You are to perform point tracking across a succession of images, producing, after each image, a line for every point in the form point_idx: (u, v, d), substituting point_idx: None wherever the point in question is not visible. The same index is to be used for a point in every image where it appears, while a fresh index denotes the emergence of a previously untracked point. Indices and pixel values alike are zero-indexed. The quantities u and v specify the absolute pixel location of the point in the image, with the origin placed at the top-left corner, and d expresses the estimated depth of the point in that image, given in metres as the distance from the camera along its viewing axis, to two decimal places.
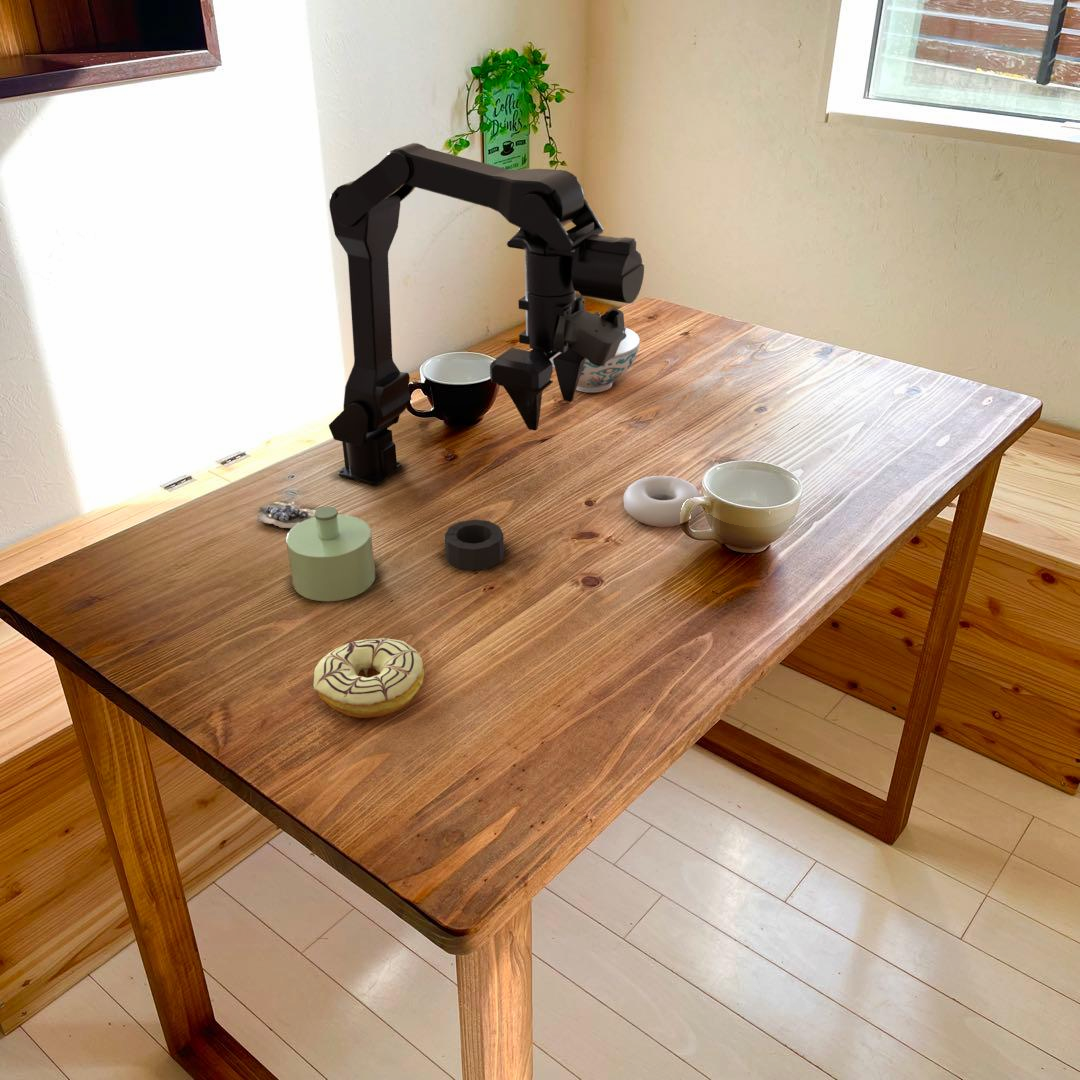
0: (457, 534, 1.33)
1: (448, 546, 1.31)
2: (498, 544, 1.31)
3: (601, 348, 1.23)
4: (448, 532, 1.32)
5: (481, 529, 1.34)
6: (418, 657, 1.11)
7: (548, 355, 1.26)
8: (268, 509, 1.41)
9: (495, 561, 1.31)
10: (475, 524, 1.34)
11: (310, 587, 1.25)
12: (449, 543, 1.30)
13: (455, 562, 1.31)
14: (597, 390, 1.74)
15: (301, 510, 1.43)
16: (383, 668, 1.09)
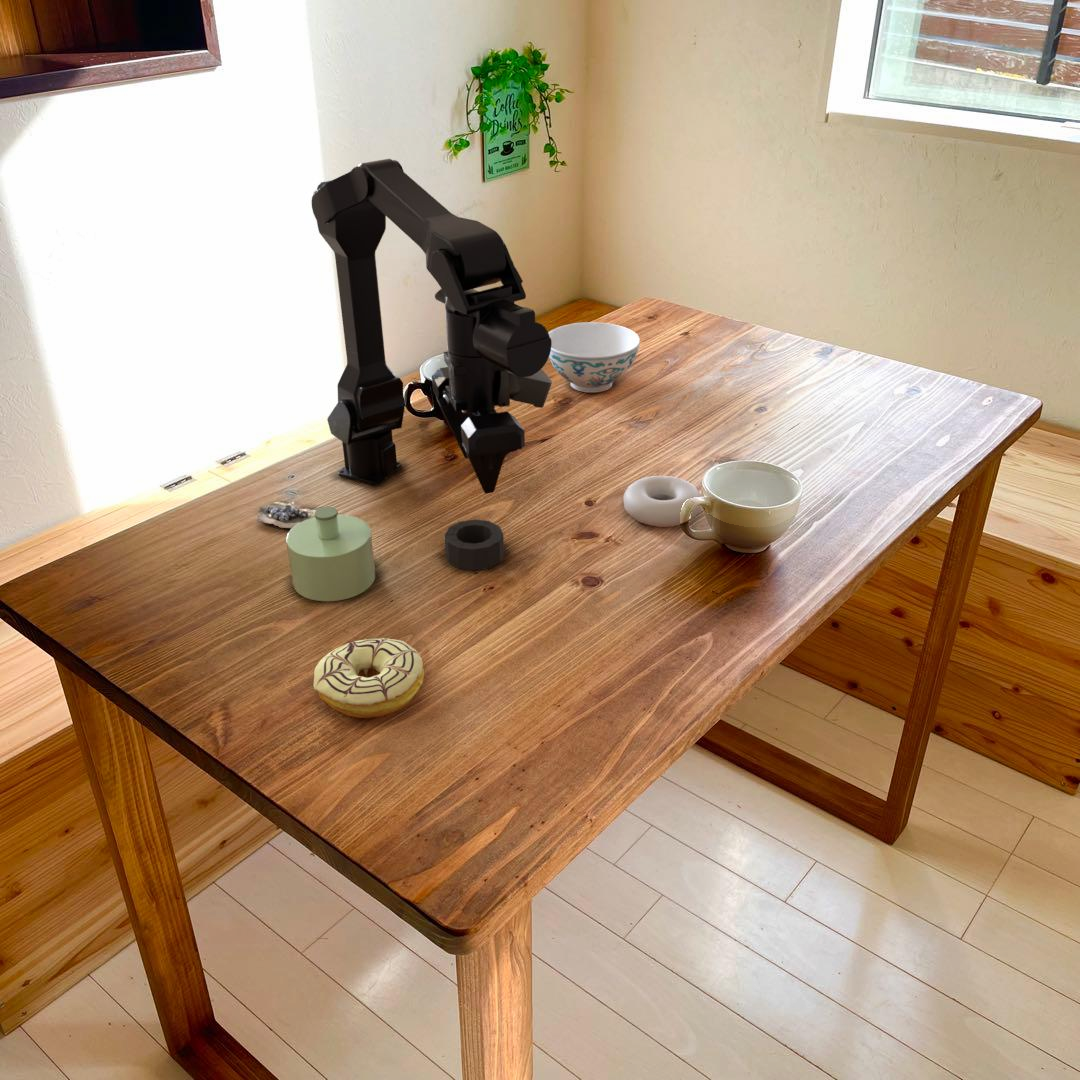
0: (457, 534, 1.33)
1: (448, 546, 1.31)
2: (498, 544, 1.31)
3: (546, 389, 1.23)
4: (448, 532, 1.32)
5: (481, 529, 1.34)
6: (418, 657, 1.11)
7: (492, 413, 1.22)
8: (268, 509, 1.41)
9: (495, 561, 1.31)
10: (475, 524, 1.34)
11: (310, 587, 1.25)
12: (449, 543, 1.30)
13: (455, 562, 1.31)
14: (597, 390, 1.74)
15: (301, 510, 1.43)
16: (383, 668, 1.09)
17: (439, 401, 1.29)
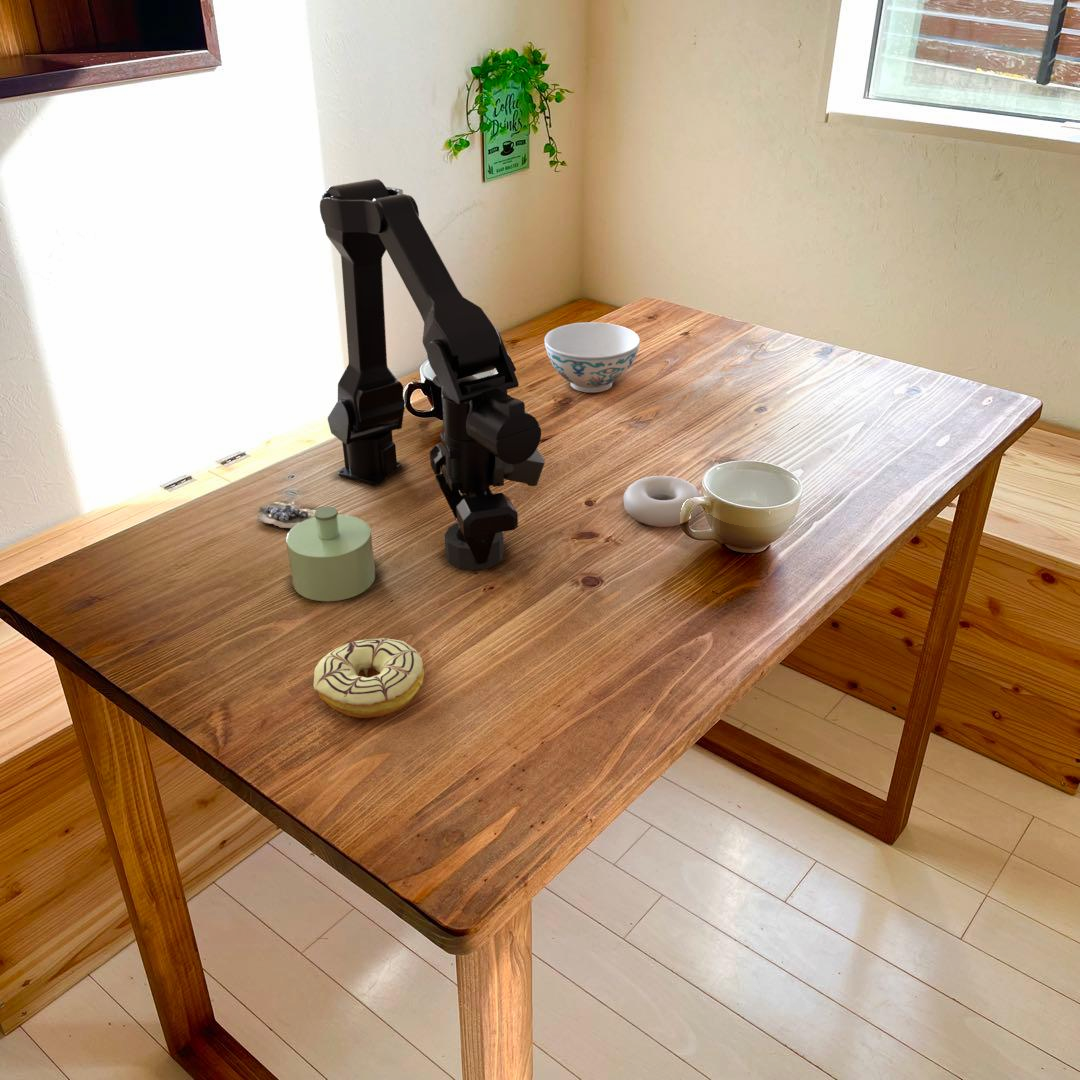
0: (457, 534, 1.33)
1: (448, 546, 1.31)
2: (498, 544, 1.31)
3: (539, 469, 1.27)
4: (448, 532, 1.32)
5: None
6: (418, 657, 1.11)
7: (486, 493, 1.26)
8: (268, 509, 1.41)
9: (495, 561, 1.31)
10: None
11: (310, 587, 1.25)
12: (449, 543, 1.30)
13: (455, 562, 1.31)
14: (597, 390, 1.74)
15: (301, 510, 1.43)
16: (383, 668, 1.09)
17: (438, 480, 1.33)
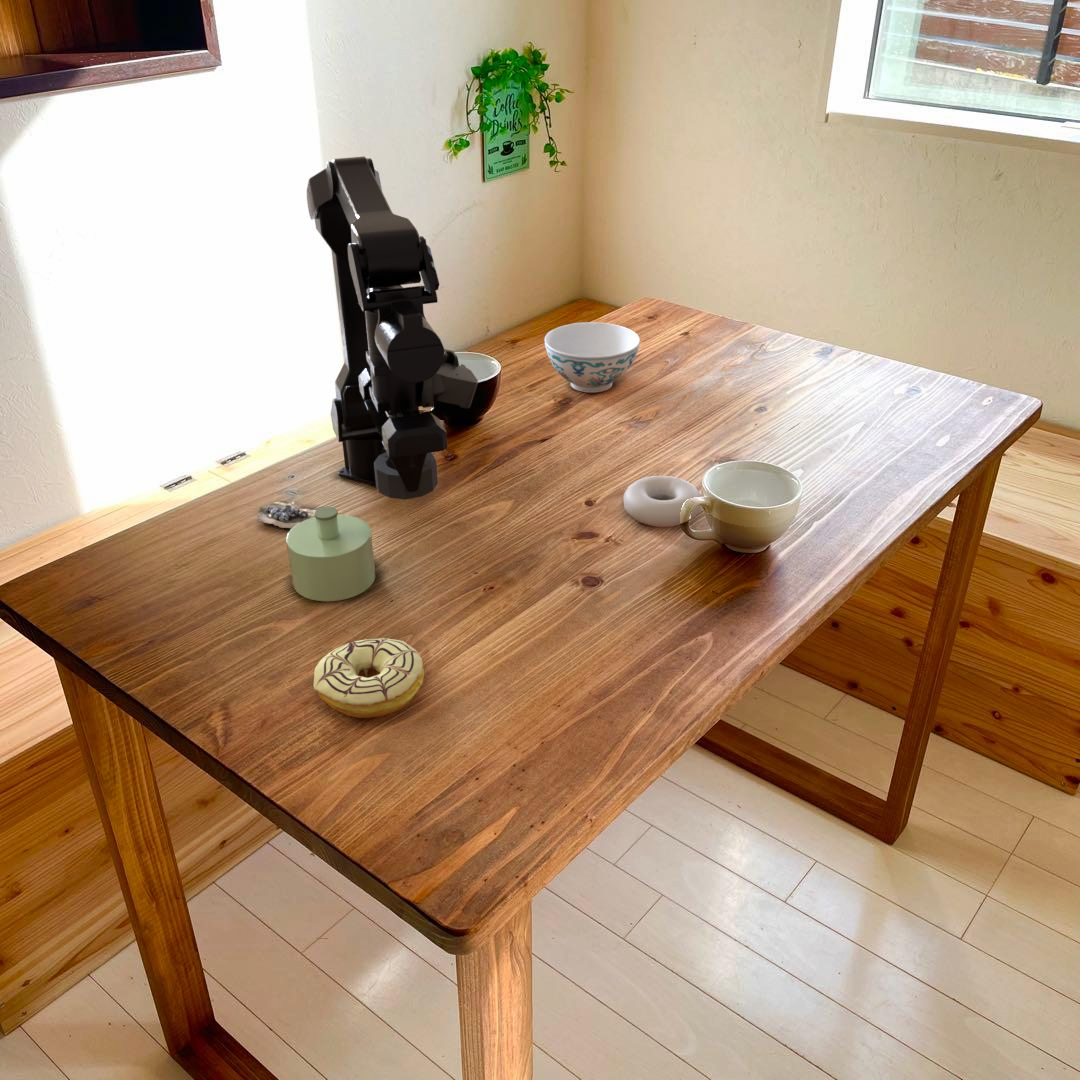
0: (387, 462, 1.25)
1: (377, 474, 1.23)
2: (430, 471, 1.23)
3: (472, 389, 1.20)
4: (378, 460, 1.25)
5: None
6: (418, 657, 1.11)
7: None
8: (268, 509, 1.41)
9: (427, 490, 1.24)
10: None
11: (310, 587, 1.25)
12: (378, 470, 1.23)
13: (385, 491, 1.23)
14: (597, 390, 1.74)
15: (301, 510, 1.43)
16: (383, 668, 1.09)
17: (367, 405, 1.25)
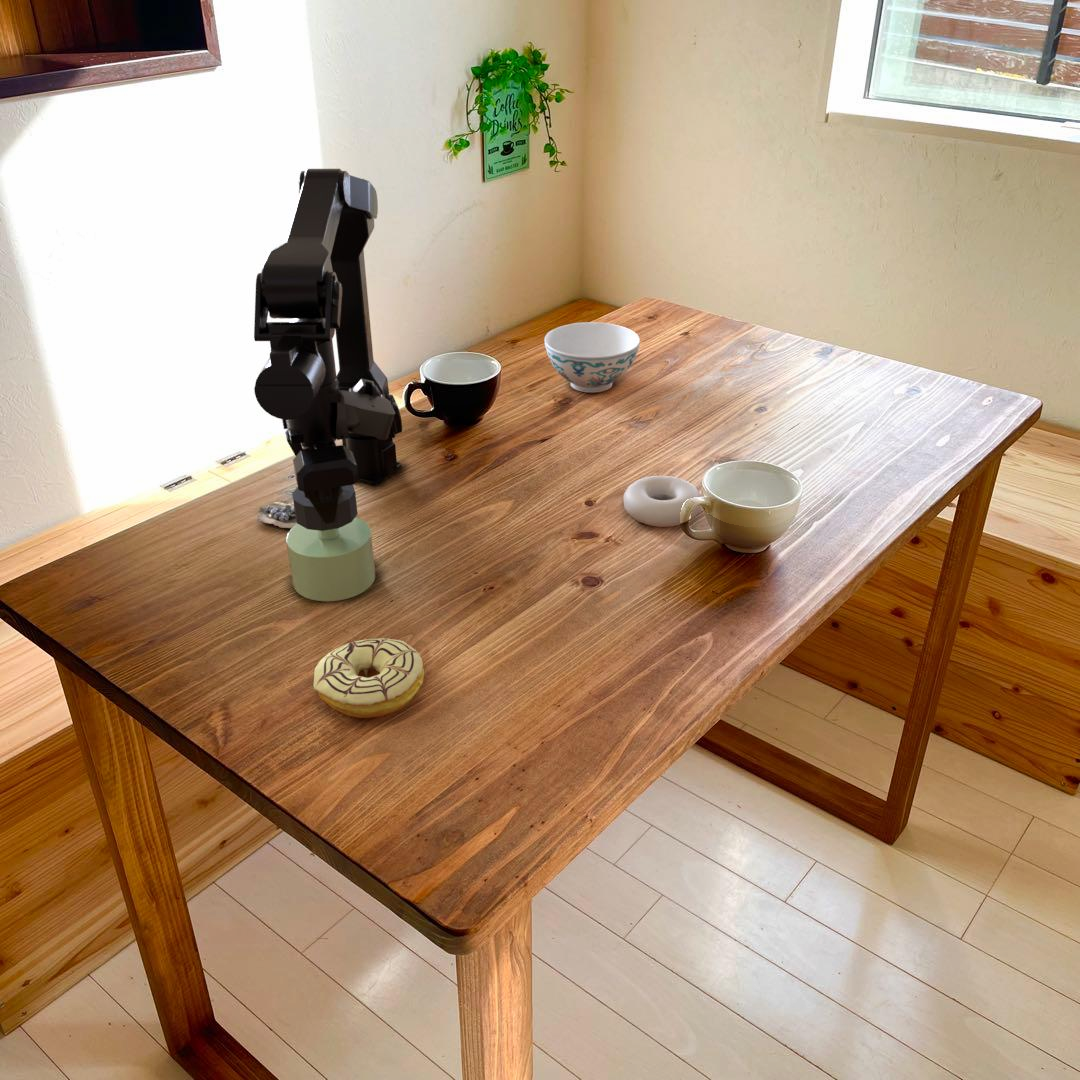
0: None
1: (294, 505, 1.22)
2: (348, 502, 1.22)
3: (388, 421, 1.19)
4: (296, 490, 1.24)
5: None
6: (418, 657, 1.11)
7: (330, 446, 1.18)
8: (268, 509, 1.41)
9: (346, 521, 1.23)
10: None
11: (310, 587, 1.25)
12: (295, 501, 1.22)
13: (302, 522, 1.22)
14: (597, 390, 1.74)
15: None
16: (383, 668, 1.09)
17: (287, 435, 1.24)
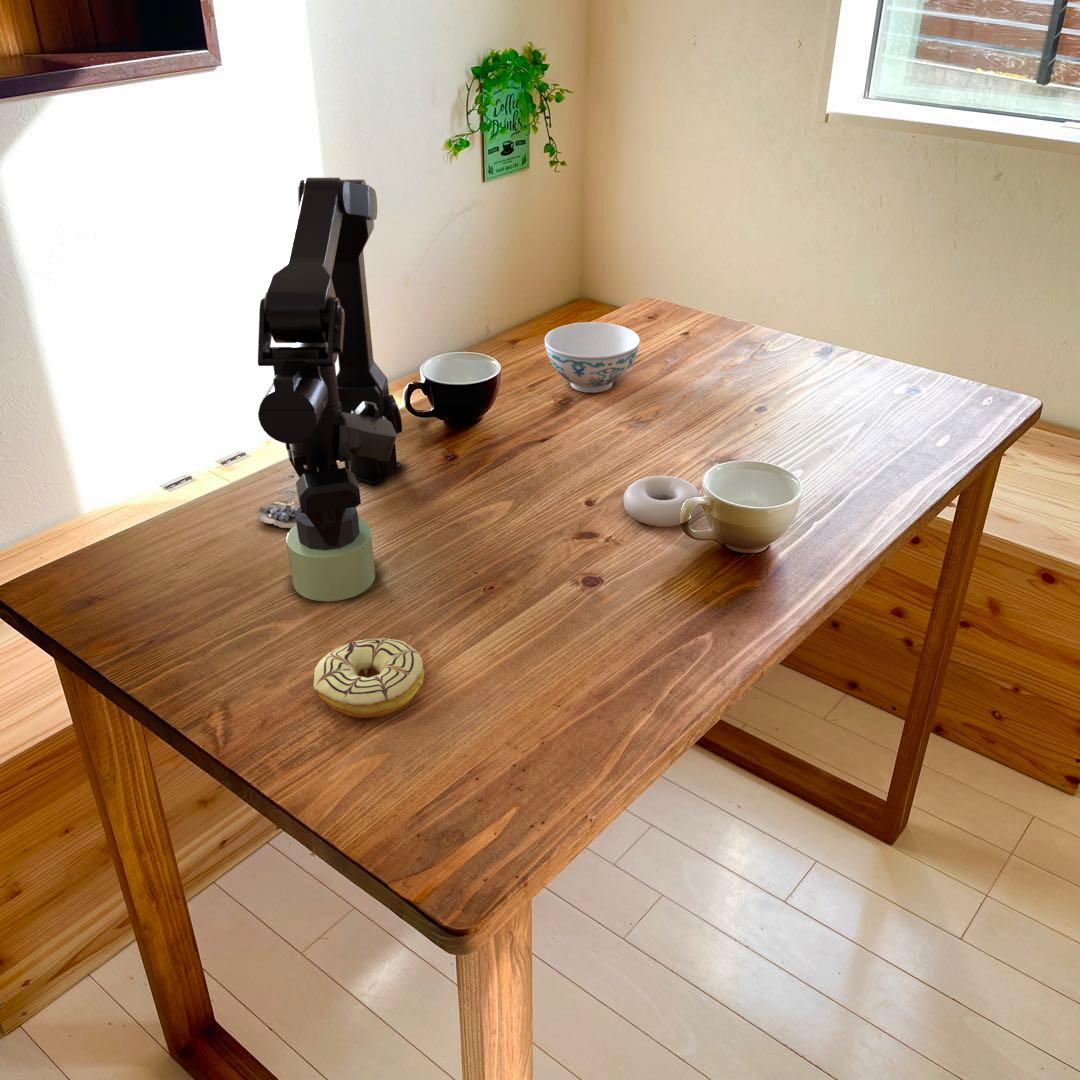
0: None
1: (297, 524, 1.23)
2: (350, 522, 1.23)
3: (390, 443, 1.20)
4: (299, 510, 1.25)
5: None
6: (418, 657, 1.11)
7: (332, 468, 1.19)
8: (268, 509, 1.41)
9: (348, 540, 1.24)
10: None
11: (310, 587, 1.25)
12: (298, 521, 1.23)
13: (305, 541, 1.24)
14: (597, 390, 1.74)
15: None
16: (383, 668, 1.09)
17: (289, 454, 1.26)
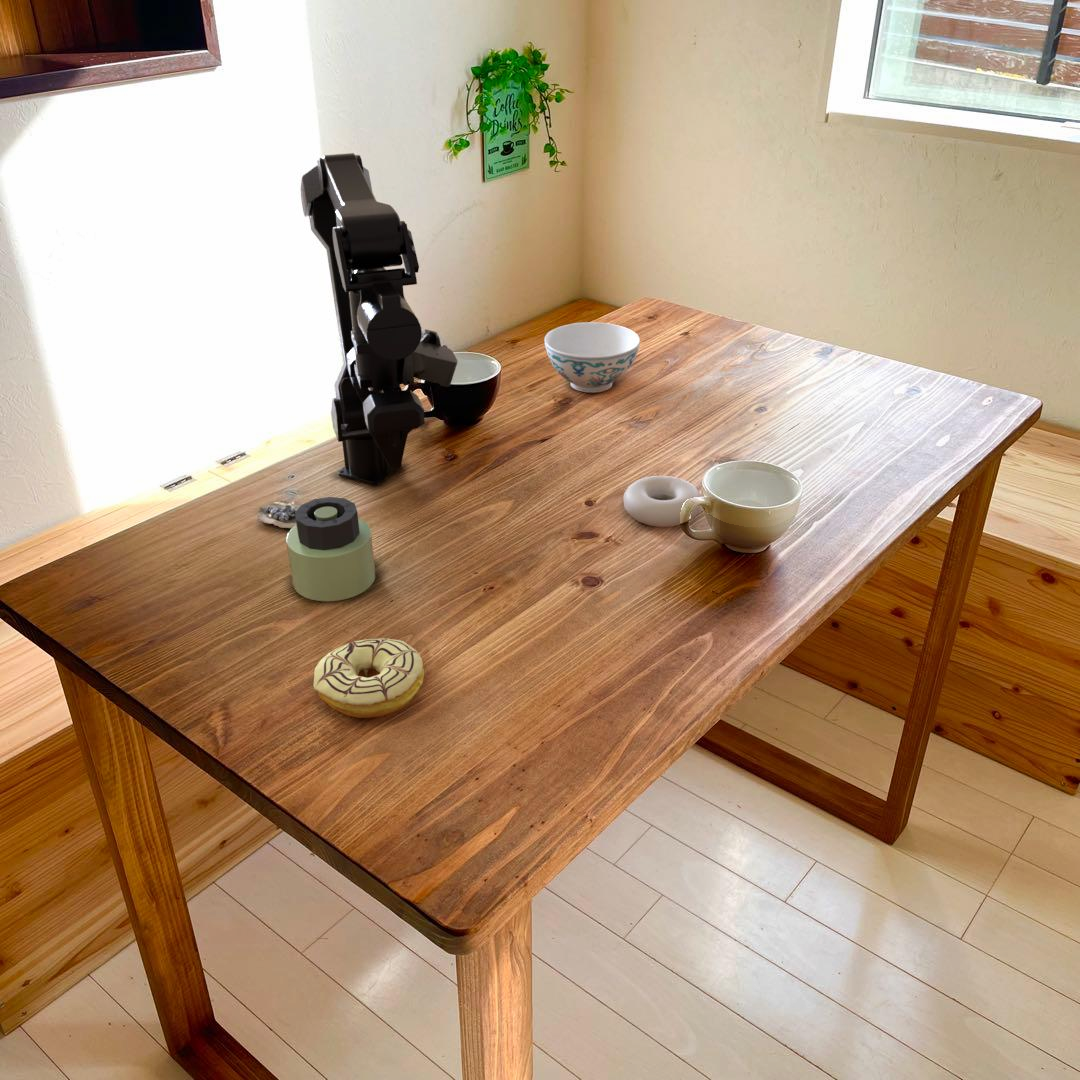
0: (309, 512, 1.25)
1: (297, 524, 1.23)
2: (350, 522, 1.23)
3: (451, 368, 1.25)
4: (299, 510, 1.25)
5: (336, 507, 1.27)
6: (418, 657, 1.11)
7: None
8: (268, 509, 1.41)
9: (348, 540, 1.24)
10: (330, 502, 1.27)
11: (310, 587, 1.25)
12: (298, 521, 1.23)
13: (305, 541, 1.24)
14: (597, 390, 1.74)
15: None
16: (383, 668, 1.09)
17: (352, 379, 1.32)
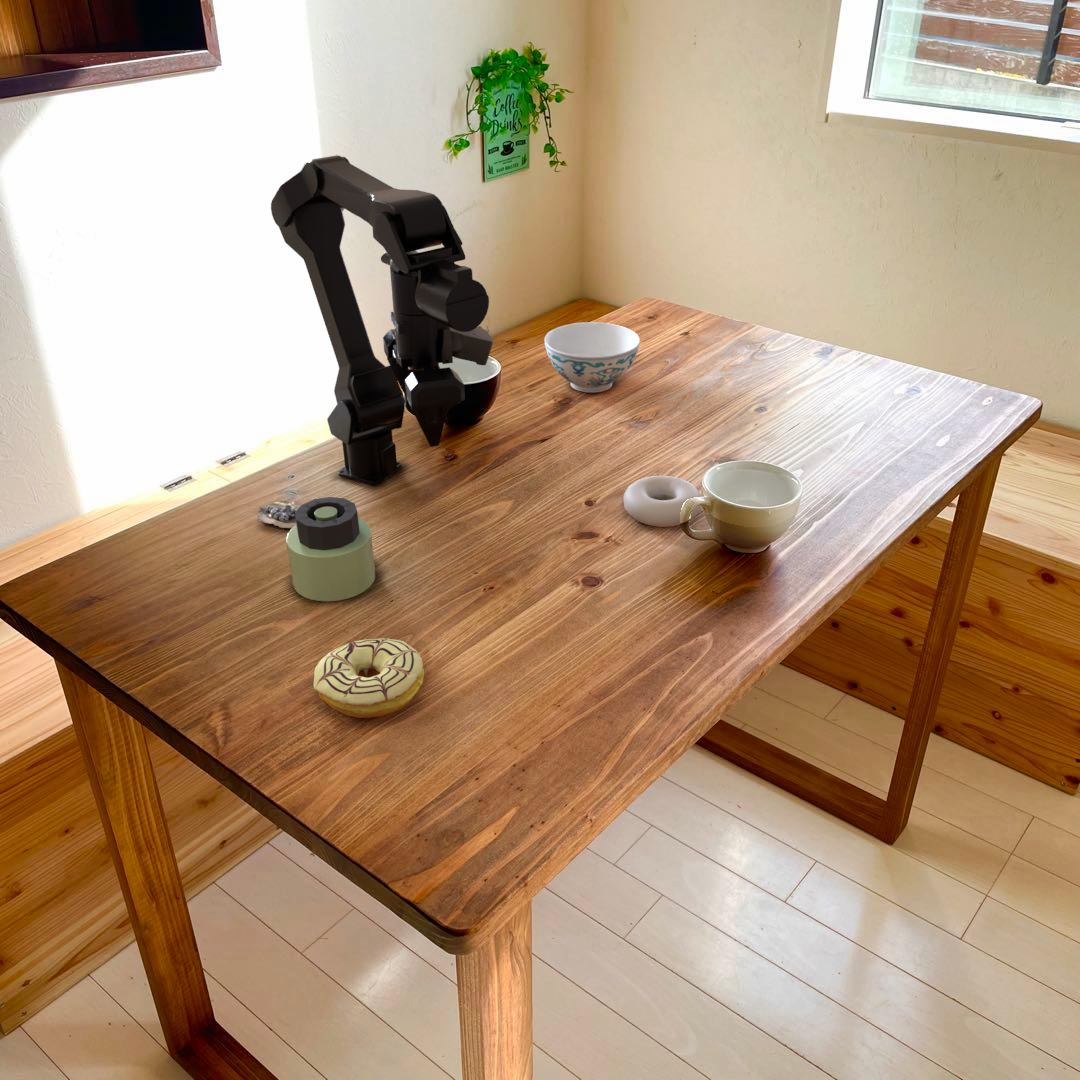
0: (309, 512, 1.25)
1: (297, 524, 1.23)
2: (350, 522, 1.23)
3: (487, 347, 1.30)
4: (299, 510, 1.25)
5: (336, 507, 1.27)
6: (418, 657, 1.11)
7: None
8: (268, 509, 1.41)
9: (348, 540, 1.24)
10: (330, 502, 1.27)
11: (310, 587, 1.25)
12: (298, 521, 1.23)
13: (305, 541, 1.24)
14: (597, 390, 1.74)
15: None
16: (383, 668, 1.09)
17: (389, 361, 1.37)
